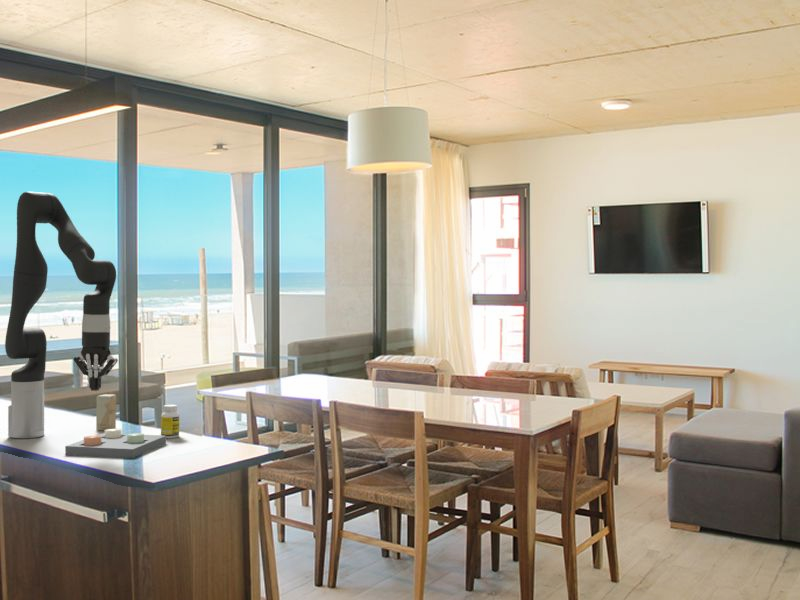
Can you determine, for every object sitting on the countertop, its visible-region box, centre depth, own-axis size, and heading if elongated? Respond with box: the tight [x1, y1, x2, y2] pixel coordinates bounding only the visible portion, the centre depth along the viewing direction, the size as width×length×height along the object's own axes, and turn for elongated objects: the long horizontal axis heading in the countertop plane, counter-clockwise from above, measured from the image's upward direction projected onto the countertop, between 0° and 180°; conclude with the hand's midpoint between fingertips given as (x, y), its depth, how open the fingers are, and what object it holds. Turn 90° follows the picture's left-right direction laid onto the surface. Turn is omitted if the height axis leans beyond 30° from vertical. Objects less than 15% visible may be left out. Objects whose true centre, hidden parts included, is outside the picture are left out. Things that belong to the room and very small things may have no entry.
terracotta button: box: [83, 435, 101, 446], centre depth 226 cm, size 5×5×4 cm
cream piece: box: [104, 428, 122, 439], centre depth 236 cm, size 5×5×4 cm
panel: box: [64, 432, 167, 459], centre depth 230 cm, size 20×20×2 cm
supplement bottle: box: [160, 404, 180, 439], centre depth 249 cm, size 5×5×10 cm
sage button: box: [127, 432, 145, 444], centre depth 229 cm, size 5×5×4 cm
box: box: [95, 393, 117, 431], centre depth 261 cm, size 5×4×11 cm
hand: (95, 390), depth 230 cm, fingers closed
